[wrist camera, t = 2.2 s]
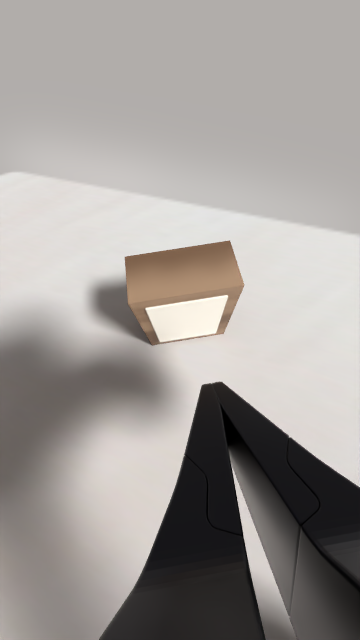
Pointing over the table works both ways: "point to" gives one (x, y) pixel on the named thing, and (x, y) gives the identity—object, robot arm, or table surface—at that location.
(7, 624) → the table surface
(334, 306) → the table surface
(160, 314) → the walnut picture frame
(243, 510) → the table surface
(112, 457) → the table surface
